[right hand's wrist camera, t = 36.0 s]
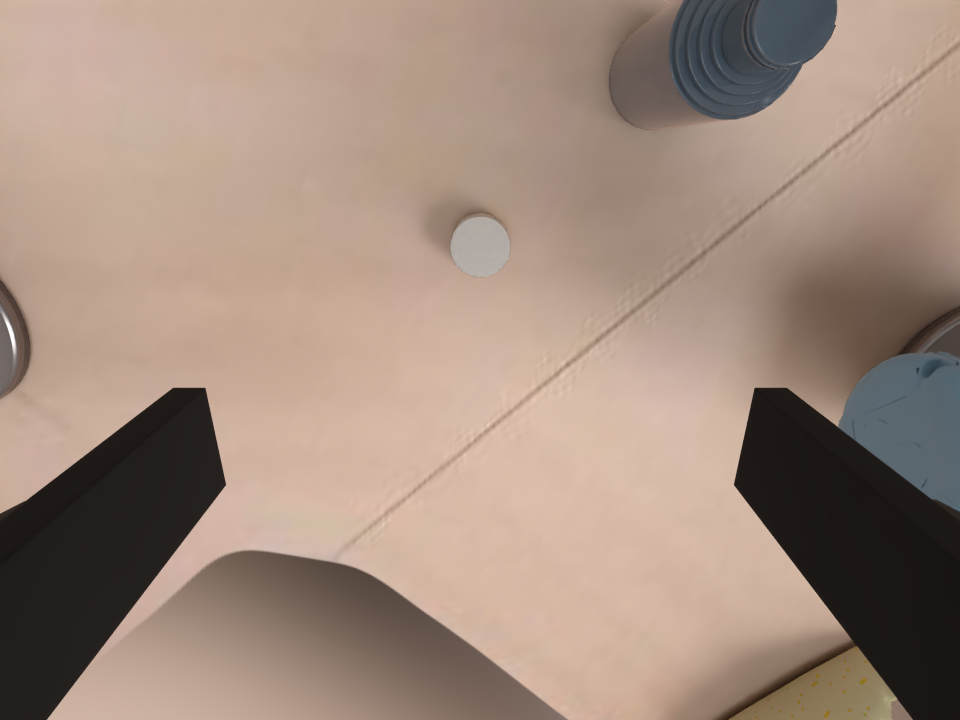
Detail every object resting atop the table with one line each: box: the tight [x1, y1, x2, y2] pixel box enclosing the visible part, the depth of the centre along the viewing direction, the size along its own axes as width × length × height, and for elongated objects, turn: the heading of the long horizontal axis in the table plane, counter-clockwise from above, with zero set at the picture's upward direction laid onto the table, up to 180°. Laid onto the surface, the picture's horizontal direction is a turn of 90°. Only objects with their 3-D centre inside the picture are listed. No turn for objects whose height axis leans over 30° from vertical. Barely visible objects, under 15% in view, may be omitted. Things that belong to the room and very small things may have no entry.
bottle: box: [609, 0, 837, 130], centre depth 28 cm, size 7×7×17 cm
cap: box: [450, 213, 510, 277], centre depth 39 cm, size 4×4×2 cm
